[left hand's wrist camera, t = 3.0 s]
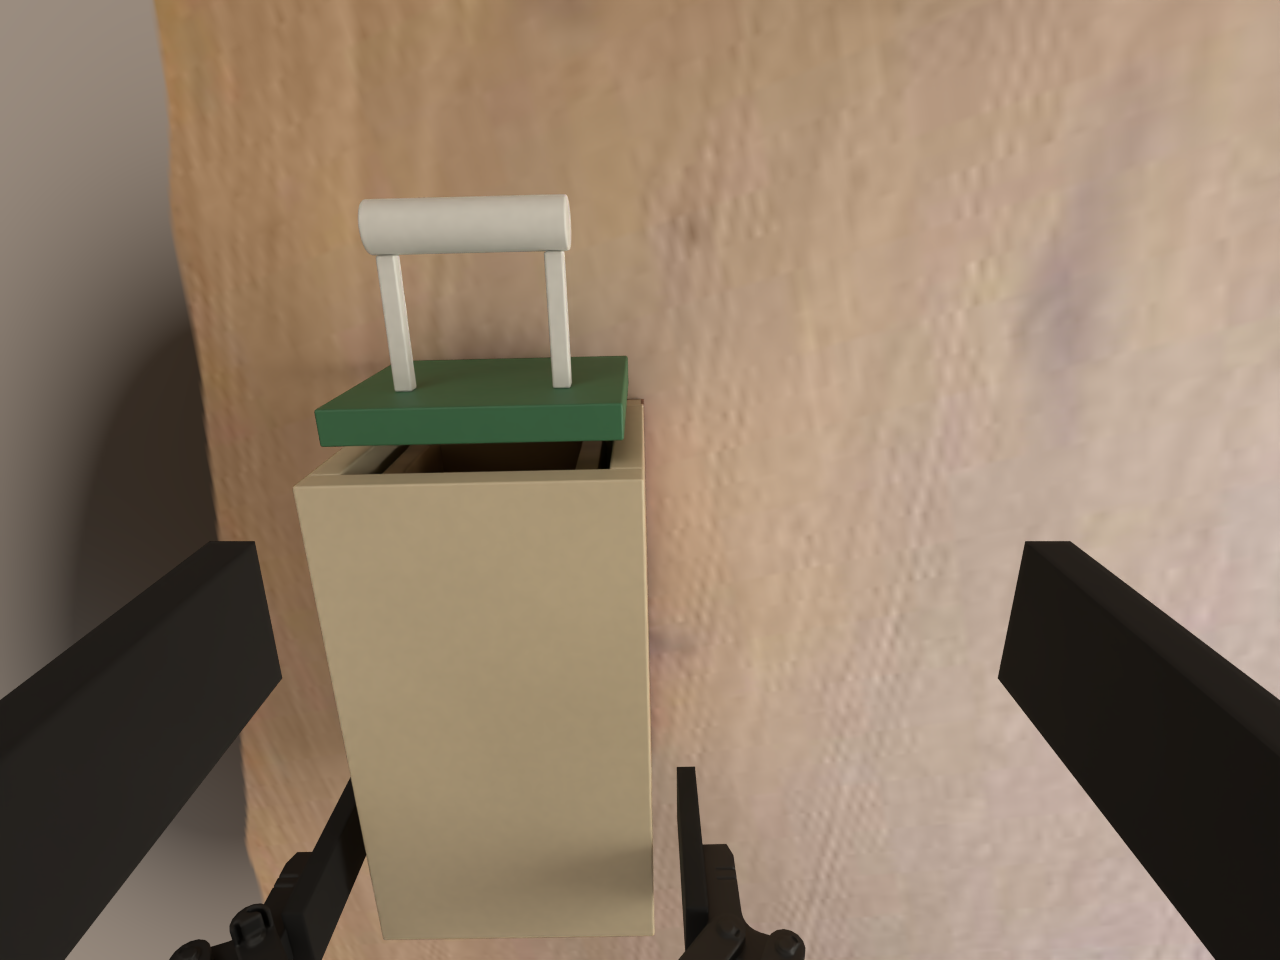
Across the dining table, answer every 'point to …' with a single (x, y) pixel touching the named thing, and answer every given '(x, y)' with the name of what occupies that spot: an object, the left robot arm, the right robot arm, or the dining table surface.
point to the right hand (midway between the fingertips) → (526, 794)
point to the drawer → (479, 388)
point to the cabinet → (492, 688)
